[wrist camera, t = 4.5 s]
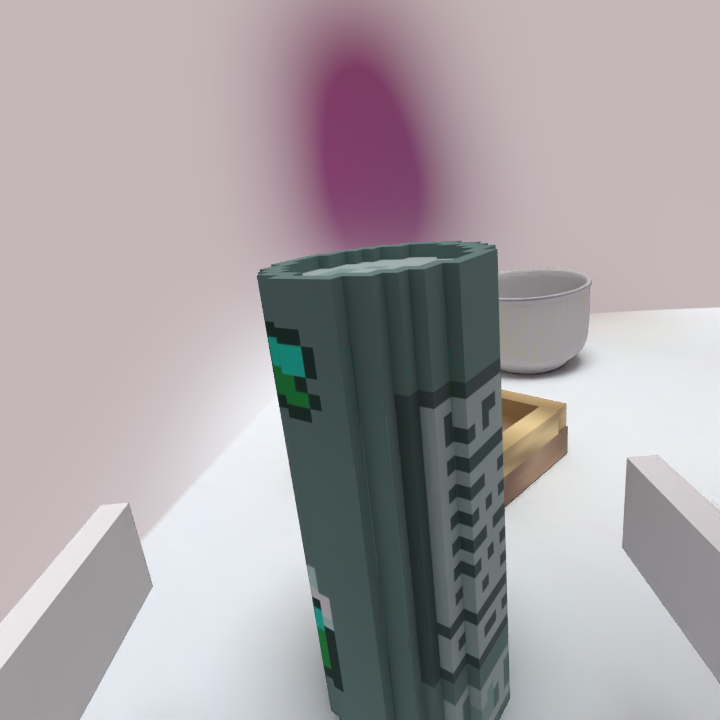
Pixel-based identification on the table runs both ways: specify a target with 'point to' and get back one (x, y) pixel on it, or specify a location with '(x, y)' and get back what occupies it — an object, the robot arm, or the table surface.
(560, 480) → the table surface
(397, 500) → the can
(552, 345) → the teacup
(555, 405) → the tray
